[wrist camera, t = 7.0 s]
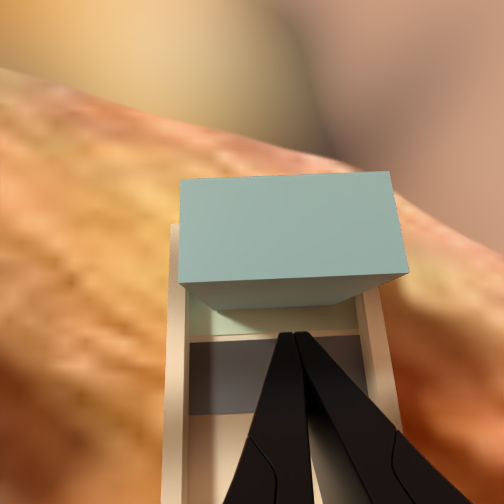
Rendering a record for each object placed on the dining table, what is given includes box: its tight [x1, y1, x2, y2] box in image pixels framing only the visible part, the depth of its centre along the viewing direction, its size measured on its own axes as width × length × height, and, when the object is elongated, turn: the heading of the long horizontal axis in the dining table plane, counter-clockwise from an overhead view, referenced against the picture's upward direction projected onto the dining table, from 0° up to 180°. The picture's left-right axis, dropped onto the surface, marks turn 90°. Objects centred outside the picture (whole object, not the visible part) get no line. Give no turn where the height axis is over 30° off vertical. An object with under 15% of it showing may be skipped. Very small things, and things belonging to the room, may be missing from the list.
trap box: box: [161, 224, 404, 504], centre depth 13 cm, size 20×10×2 cm, turn 3°
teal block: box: [178, 171, 409, 311], centre depth 12 cm, size 3×6×8 cm, turn 93°
